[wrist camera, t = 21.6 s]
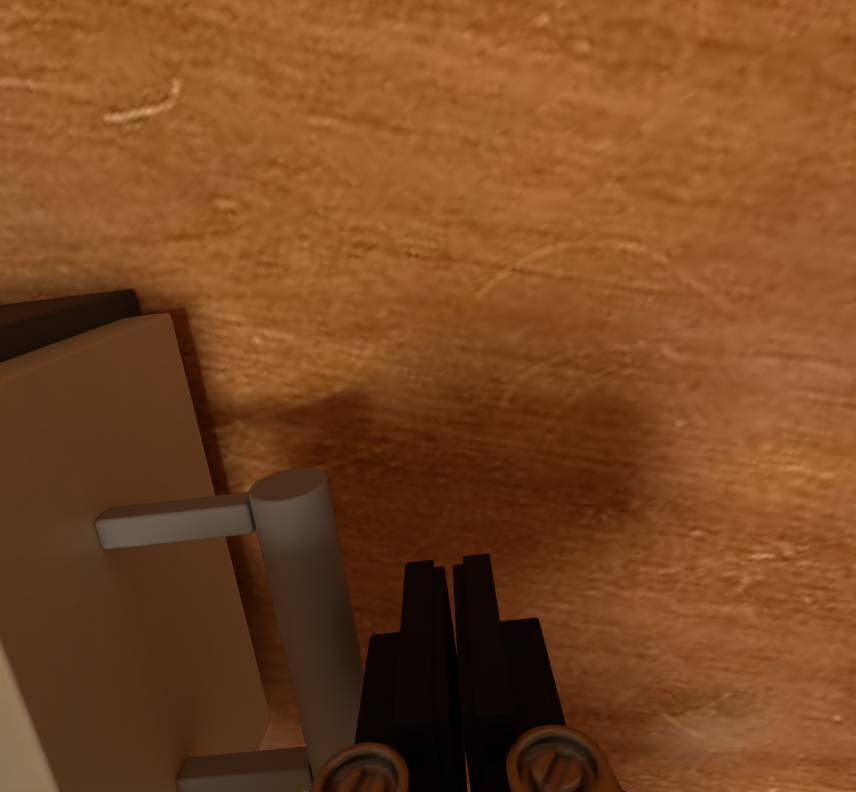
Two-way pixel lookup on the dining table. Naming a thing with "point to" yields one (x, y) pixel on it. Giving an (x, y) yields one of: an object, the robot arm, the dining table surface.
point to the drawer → (152, 585)
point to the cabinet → (59, 319)
